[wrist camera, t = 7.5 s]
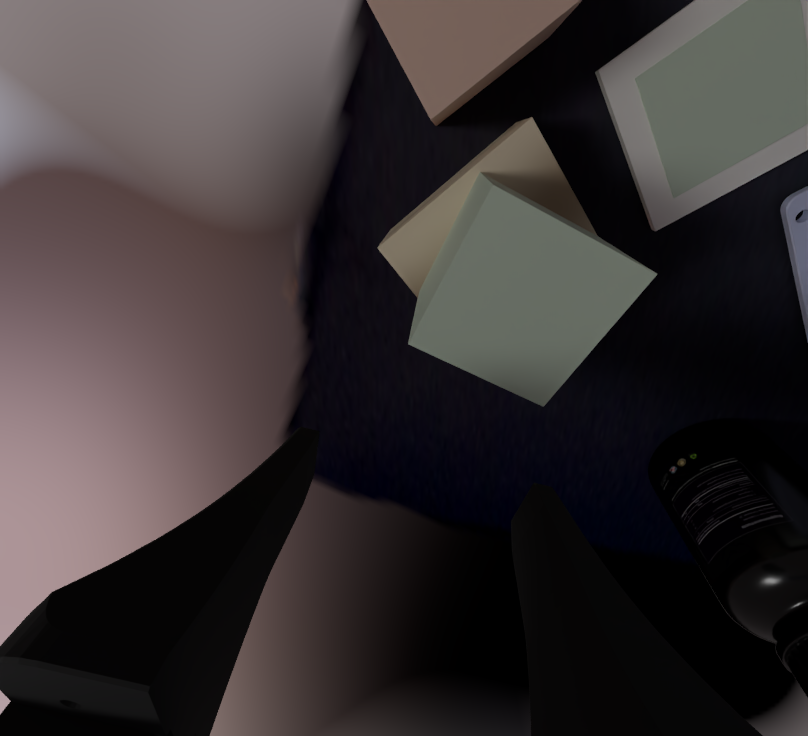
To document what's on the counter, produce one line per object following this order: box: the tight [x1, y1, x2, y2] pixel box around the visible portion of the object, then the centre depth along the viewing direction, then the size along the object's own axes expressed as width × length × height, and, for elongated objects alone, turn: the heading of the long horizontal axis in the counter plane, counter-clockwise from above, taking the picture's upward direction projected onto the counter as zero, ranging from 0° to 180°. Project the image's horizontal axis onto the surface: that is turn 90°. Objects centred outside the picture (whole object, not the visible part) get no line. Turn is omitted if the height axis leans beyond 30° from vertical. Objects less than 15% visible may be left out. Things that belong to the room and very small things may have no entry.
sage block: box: [408, 172, 657, 407], centre depth 13 cm, size 5×5×5 cm
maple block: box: [378, 117, 597, 298], centre depth 17 cm, size 7×7×4 cm
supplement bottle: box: [648, 421, 808, 697], centre depth 18 cm, size 7×7×12 cm
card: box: [595, 0, 808, 231], centre depth 14 cm, size 7×7×1 cm
